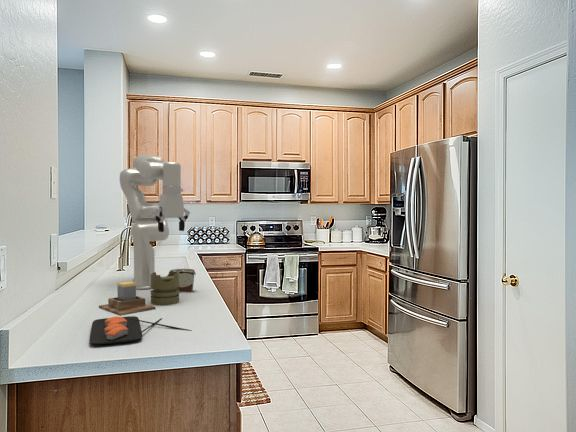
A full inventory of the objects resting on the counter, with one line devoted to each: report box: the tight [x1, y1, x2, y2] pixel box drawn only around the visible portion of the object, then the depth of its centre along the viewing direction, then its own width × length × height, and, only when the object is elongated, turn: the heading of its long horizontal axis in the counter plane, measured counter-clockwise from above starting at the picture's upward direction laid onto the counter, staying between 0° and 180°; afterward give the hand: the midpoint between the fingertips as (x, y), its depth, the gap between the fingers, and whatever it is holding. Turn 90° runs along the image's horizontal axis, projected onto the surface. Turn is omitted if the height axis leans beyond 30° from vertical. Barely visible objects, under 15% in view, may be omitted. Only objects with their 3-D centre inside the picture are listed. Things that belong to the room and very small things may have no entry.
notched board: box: [98, 295, 156, 316], centre depth 175 cm, size 18×14×4 cm
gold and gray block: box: [117, 281, 137, 302], centre depth 175 cm, size 5×5×9 cm
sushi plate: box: [89, 315, 192, 345], centre depth 145 cm, size 29×30×4 cm
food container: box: [169, 268, 196, 293], centre depth 210 cm, size 12×6×10 cm, turn 84°
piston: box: [150, 270, 180, 306], centre depth 186 cm, size 11×12×11 cm
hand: (171, 231), depth 194 cm, fingers open, 9 cm apart
